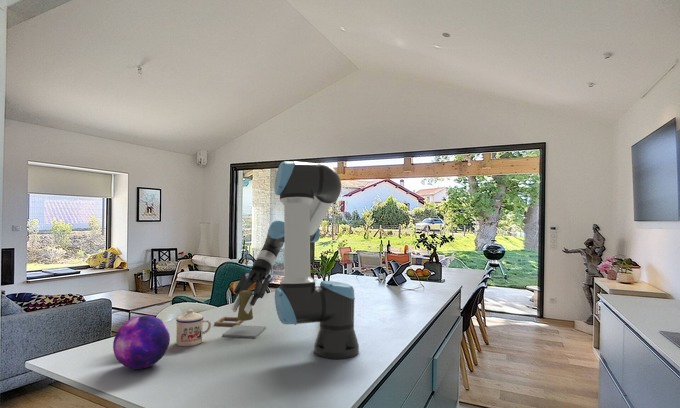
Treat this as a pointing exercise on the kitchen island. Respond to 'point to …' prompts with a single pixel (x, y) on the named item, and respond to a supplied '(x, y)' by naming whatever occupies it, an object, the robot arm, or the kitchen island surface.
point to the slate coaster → (244, 331)
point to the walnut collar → (221, 323)
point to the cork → (244, 305)
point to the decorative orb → (141, 342)
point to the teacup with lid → (190, 328)
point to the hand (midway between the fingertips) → (239, 310)
